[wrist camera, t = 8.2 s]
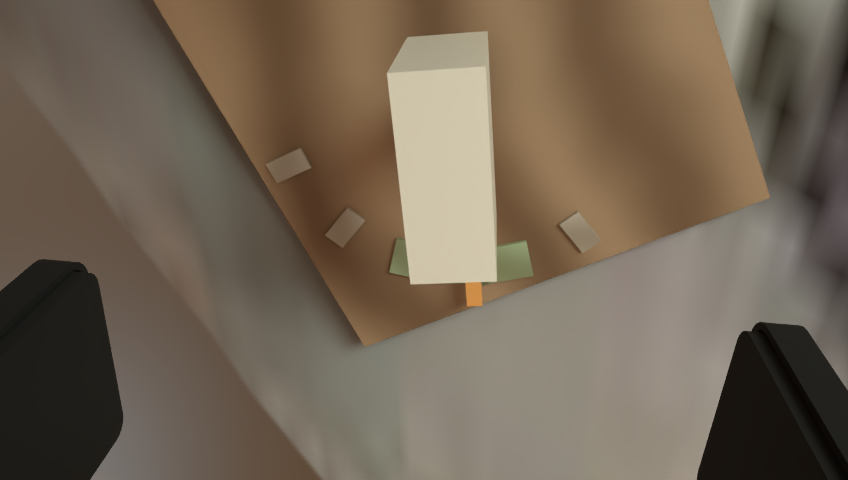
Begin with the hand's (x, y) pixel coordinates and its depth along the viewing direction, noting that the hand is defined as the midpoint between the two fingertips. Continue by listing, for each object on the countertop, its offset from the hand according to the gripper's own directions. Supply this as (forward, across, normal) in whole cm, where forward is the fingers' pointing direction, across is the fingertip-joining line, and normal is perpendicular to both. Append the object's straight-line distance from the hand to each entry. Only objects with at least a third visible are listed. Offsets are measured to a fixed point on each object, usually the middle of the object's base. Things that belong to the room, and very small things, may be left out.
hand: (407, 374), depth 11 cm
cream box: (+21, 0, +5) cm, 21 cm away
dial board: (+22, 0, +1) cm, 22 cm away
